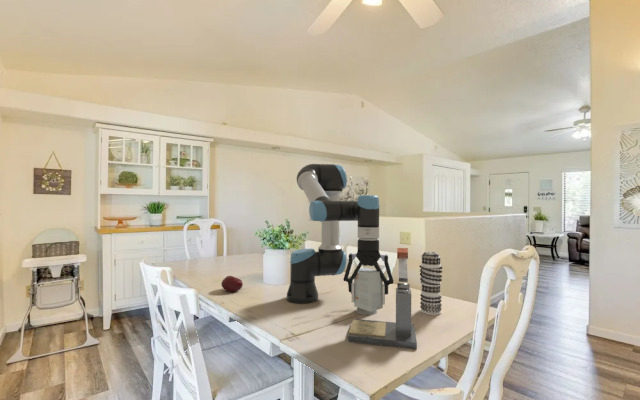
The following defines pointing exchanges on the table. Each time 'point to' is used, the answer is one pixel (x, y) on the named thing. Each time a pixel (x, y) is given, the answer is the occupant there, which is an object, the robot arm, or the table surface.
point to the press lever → (402, 268)
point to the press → (388, 327)
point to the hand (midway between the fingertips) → (368, 302)
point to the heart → (232, 284)
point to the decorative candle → (430, 283)
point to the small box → (368, 290)
